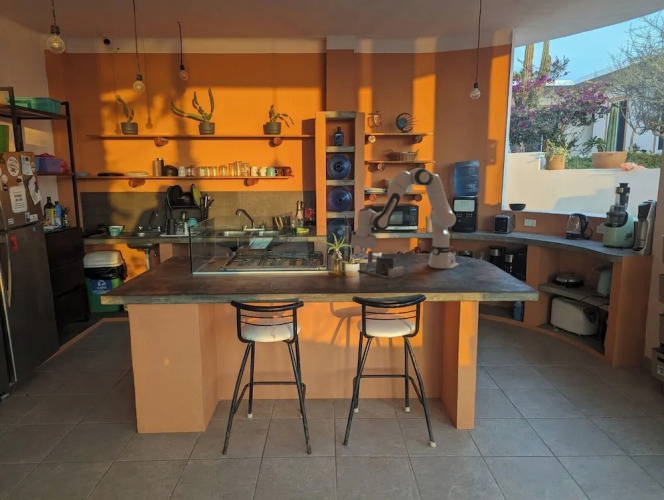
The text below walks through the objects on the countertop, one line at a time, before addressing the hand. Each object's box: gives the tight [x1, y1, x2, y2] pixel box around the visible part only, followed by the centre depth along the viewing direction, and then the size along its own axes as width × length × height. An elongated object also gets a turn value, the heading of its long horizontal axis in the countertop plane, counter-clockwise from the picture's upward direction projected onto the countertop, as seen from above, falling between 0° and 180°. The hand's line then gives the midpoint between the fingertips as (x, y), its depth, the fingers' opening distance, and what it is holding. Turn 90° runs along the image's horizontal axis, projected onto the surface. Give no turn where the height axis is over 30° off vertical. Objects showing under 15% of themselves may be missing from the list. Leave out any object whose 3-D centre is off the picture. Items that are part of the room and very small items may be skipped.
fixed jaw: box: [359, 265, 405, 279], centre depth 285 cm, size 16×26×6 cm, turn 43°
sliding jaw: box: [364, 250, 377, 272], centre depth 290 cm, size 12×4×12 cm, turn 133°
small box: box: [375, 256, 394, 276], centre depth 282 cm, size 11×6×10 cm, turn 84°
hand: (363, 253), depth 295 cm, fingers closed
